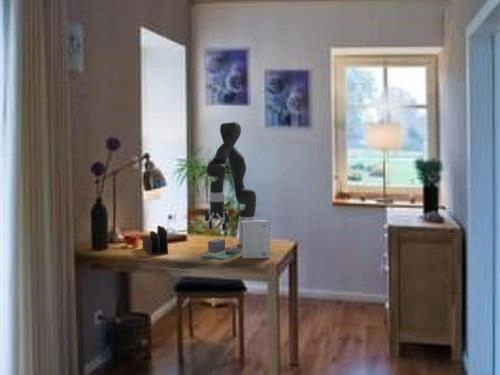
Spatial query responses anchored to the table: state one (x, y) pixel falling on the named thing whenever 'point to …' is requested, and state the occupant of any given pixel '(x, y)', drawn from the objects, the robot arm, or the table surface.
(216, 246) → the plug housing
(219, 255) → the pcb board
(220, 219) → the robot arm
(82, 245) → the table surface
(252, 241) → the hard drive box
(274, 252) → the table surface
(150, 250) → the letter holder
